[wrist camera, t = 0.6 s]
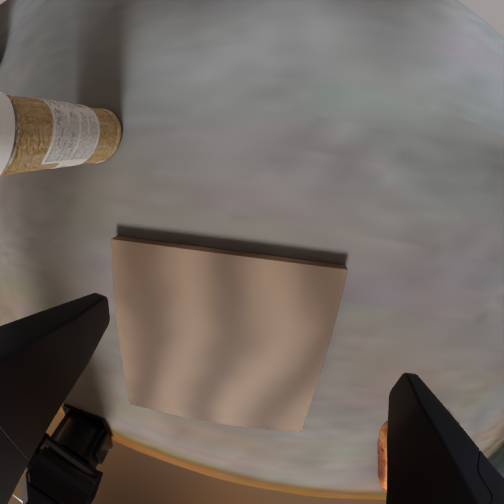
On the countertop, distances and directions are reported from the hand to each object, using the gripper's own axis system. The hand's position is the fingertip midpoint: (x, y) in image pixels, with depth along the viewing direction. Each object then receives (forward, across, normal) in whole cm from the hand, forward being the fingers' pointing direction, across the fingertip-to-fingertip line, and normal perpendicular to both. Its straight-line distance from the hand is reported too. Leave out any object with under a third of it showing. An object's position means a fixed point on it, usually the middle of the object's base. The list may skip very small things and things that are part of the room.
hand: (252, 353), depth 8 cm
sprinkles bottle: (+14, +15, -3) cm, 21 cm away
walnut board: (+13, +3, +13) cm, 19 cm away
